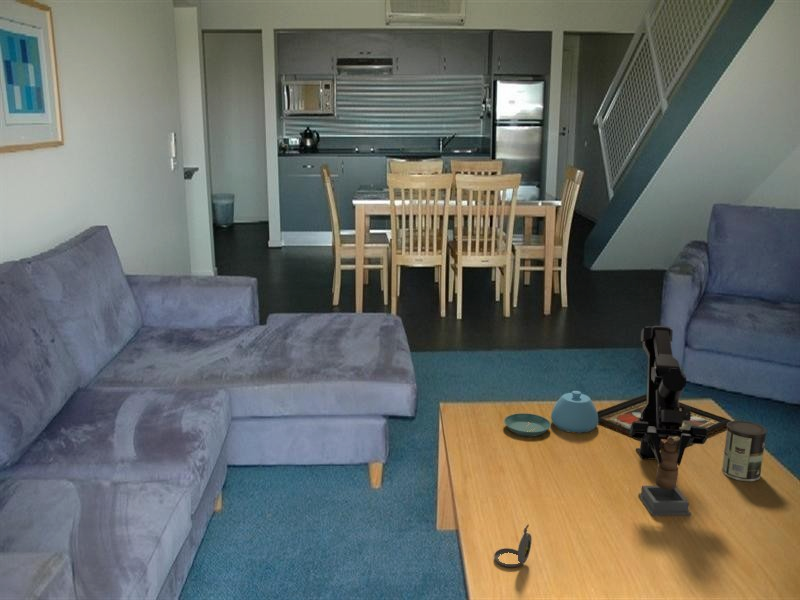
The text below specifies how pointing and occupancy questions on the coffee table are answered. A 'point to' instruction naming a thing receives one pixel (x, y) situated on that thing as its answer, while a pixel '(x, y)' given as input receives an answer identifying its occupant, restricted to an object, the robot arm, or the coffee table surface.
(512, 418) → the saucer
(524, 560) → the pocket watch
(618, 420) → the framed icon painting
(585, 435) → the coffee table surface
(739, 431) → the coffee can
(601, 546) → the coffee table surface
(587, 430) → the sugar bowl
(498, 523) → the coffee table surface
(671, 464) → the pepper mill
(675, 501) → the slate open box
